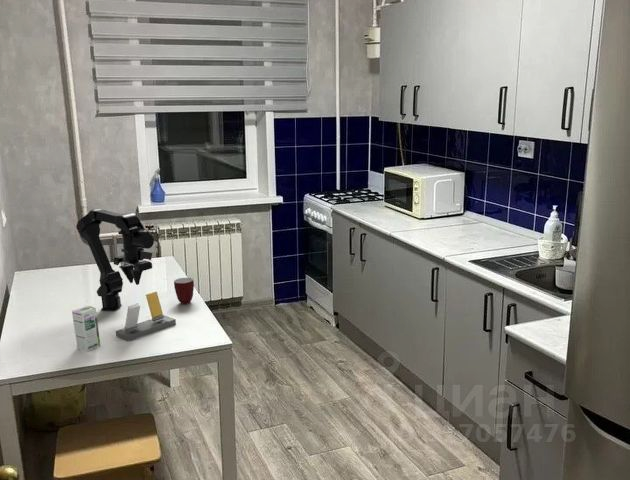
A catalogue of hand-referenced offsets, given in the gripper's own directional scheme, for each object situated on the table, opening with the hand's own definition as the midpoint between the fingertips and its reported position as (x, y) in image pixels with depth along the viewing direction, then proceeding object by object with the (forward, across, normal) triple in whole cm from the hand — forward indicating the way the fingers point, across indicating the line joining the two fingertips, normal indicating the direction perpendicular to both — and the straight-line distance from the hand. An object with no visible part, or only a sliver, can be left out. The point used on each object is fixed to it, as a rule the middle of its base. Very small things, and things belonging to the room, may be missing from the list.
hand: (134, 283), depth 242 cm
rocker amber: (+10, -17, +2) cm, 20 cm away
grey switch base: (+13, -18, +8) cm, 23 cm away
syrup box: (+13, -15, +30) cm, 36 cm away
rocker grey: (+10, -18, +14) cm, 25 cm away
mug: (+13, -6, -20) cm, 24 cm away
